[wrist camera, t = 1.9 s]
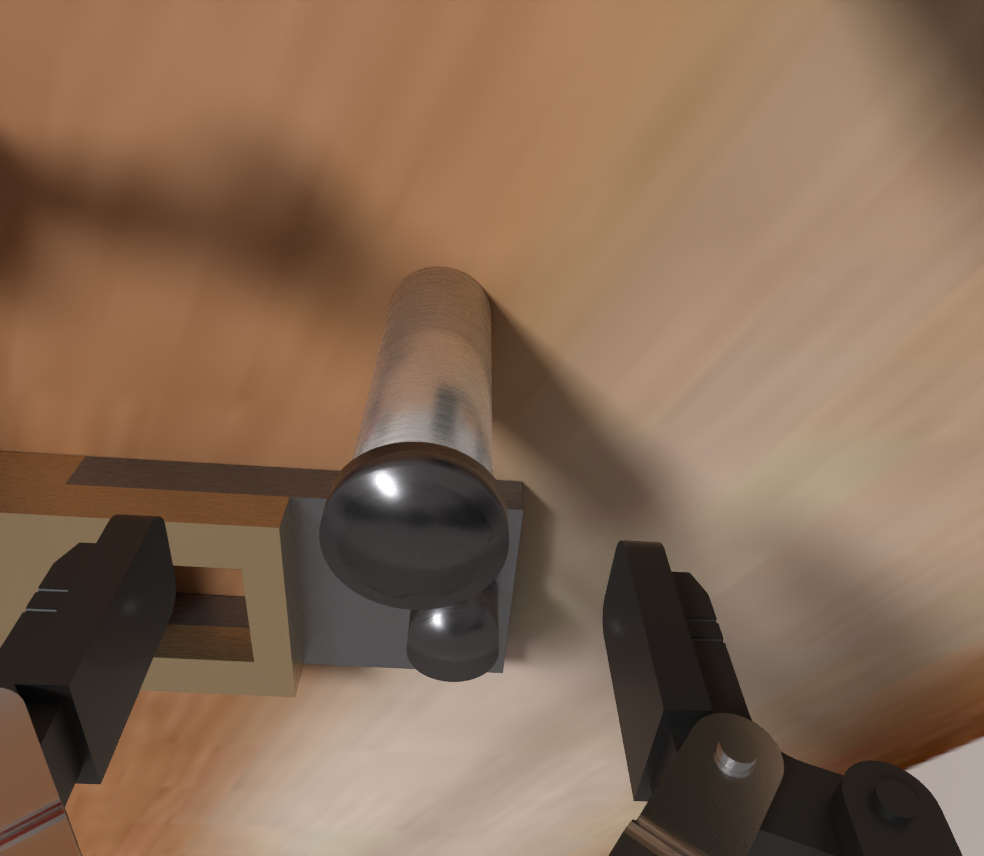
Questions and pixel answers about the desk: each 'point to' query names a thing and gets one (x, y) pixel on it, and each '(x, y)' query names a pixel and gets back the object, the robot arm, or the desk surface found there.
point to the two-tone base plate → (265, 569)
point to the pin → (423, 456)
